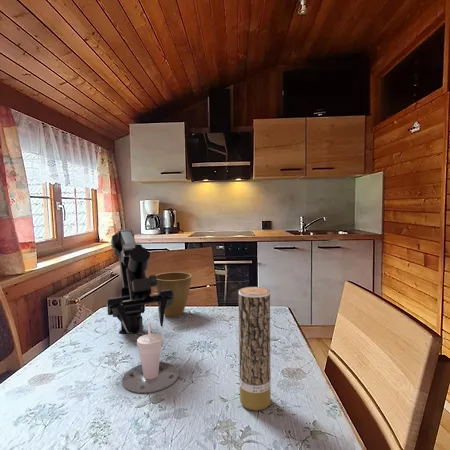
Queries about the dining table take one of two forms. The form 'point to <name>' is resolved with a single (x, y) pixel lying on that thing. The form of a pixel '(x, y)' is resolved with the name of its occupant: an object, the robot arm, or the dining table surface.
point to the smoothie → (150, 353)
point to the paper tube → (254, 347)
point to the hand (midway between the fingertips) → (145, 329)
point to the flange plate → (139, 384)
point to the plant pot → (175, 290)
